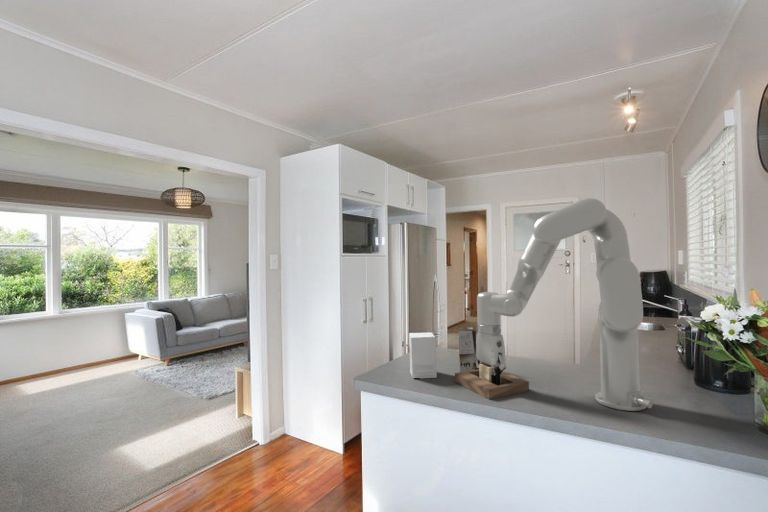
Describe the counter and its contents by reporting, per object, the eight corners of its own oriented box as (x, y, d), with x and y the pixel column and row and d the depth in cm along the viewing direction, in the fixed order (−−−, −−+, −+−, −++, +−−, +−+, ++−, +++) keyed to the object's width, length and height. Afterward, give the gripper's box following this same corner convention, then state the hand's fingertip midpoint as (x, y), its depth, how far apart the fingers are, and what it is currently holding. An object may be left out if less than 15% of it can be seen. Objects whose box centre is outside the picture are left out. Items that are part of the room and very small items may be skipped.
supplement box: (433, 370, 143) (432, 331, 143) (437, 378, 134) (436, 336, 134) (409, 371, 143) (408, 332, 143) (411, 379, 134) (411, 337, 134)
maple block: (501, 387, 124) (501, 366, 124) (489, 389, 122) (488, 368, 122) (491, 382, 128) (491, 362, 128) (479, 385, 126) (479, 364, 126)
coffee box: (477, 374, 138) (476, 330, 138) (459, 373, 139) (458, 330, 139) (476, 367, 147) (475, 326, 147) (459, 366, 148) (458, 325, 148)
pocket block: (529, 390, 120) (528, 381, 120) (488, 399, 113) (488, 389, 113) (491, 375, 136) (491, 367, 136) (454, 381, 130) (454, 373, 130)
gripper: (516, 332, 119) (517, 390, 119) (482, 324, 134) (483, 375, 134) (497, 335, 116) (498, 394, 116) (464, 326, 131) (465, 378, 131)
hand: (490, 383), depth 125 cm, fingers closed on maple block, 5 cm apart
